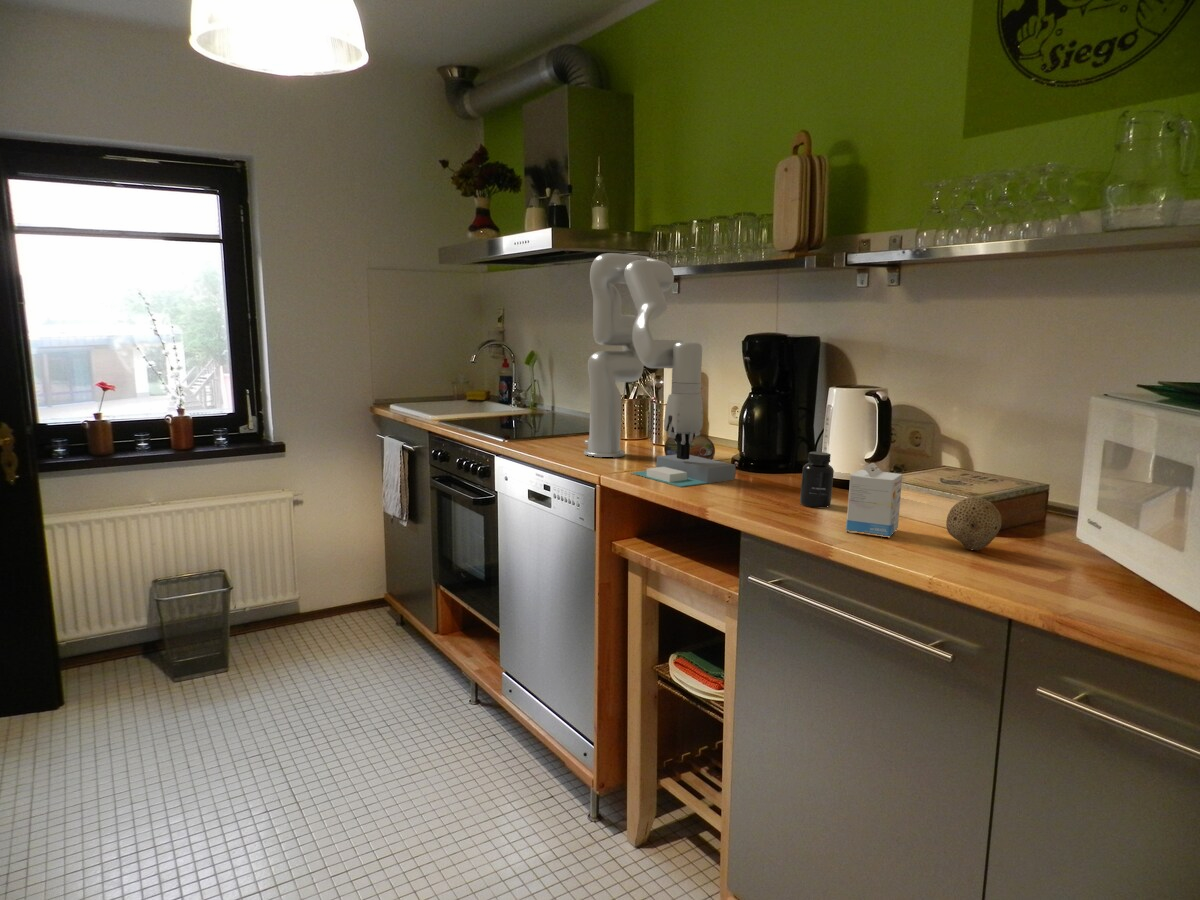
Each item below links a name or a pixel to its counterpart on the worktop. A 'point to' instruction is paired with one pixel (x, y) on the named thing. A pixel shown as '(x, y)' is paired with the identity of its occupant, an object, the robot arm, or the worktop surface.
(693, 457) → the grey flat block
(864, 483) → the ink box
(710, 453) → the tin
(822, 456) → the supplement bottle
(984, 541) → the natural sponge
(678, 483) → the mat
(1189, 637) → the worktop surface
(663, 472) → the white rectangular block
